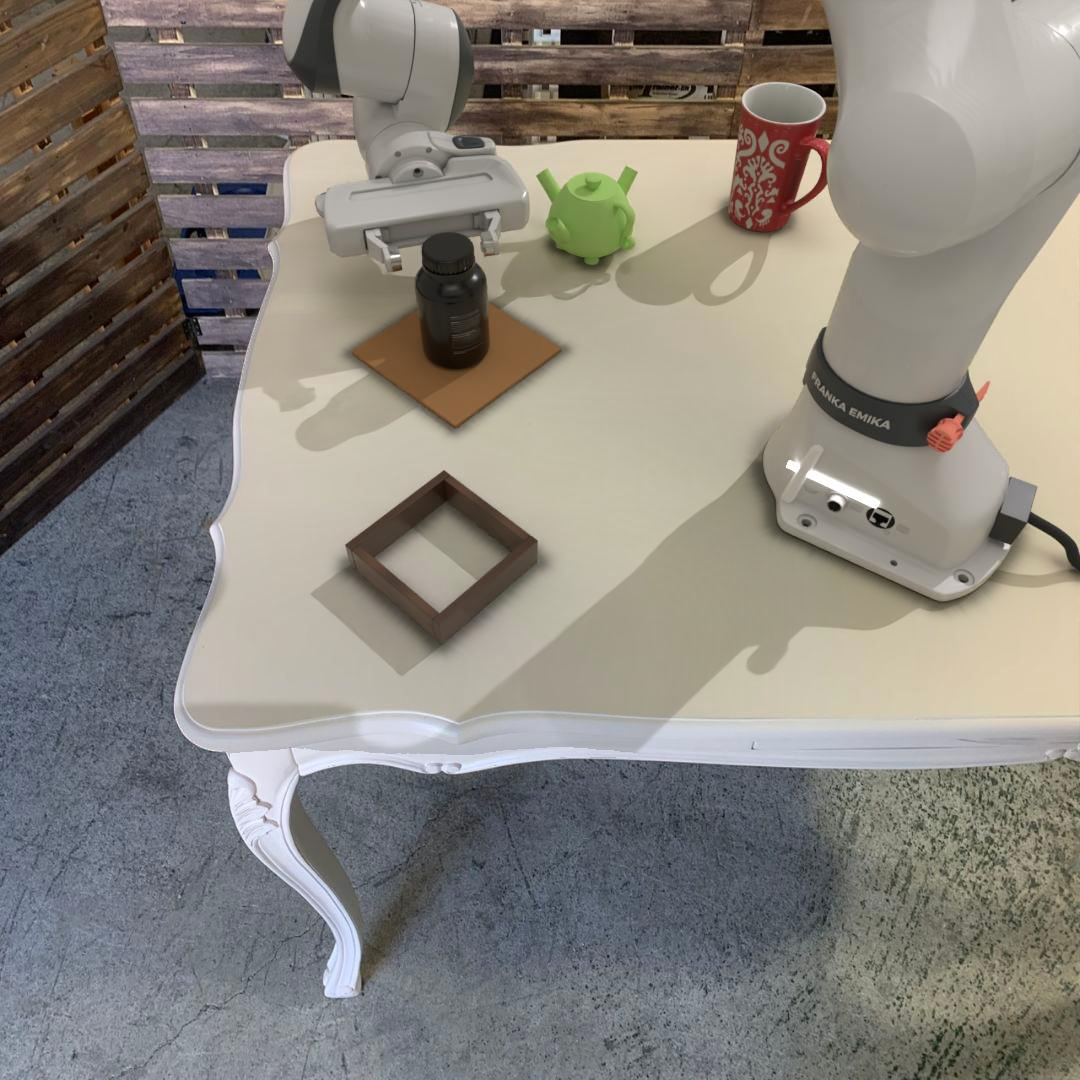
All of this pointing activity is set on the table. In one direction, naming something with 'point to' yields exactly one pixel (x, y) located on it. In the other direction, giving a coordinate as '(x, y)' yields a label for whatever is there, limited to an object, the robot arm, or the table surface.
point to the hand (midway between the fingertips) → (443, 258)
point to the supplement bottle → (452, 302)
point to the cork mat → (457, 389)
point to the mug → (775, 154)
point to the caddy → (412, 513)
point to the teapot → (590, 213)
